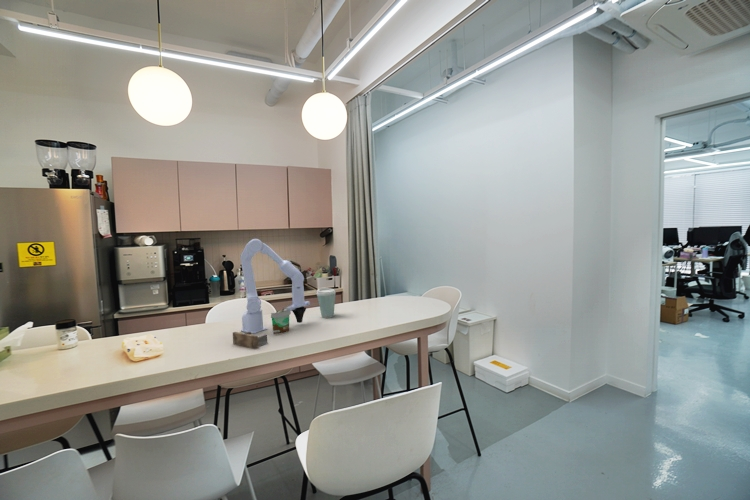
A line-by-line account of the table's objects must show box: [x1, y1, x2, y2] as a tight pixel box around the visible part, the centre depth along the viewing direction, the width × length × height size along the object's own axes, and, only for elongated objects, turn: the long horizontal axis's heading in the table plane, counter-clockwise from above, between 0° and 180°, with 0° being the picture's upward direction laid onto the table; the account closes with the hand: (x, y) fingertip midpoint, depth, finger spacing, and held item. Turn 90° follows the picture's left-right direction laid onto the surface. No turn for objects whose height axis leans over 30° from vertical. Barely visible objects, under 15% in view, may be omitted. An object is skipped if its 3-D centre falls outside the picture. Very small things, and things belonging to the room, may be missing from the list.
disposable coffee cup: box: [315, 287, 337, 319], centre depth 181 cm, size 11×11×15 cm
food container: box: [270, 307, 292, 335], centre depth 157 cm, size 12×6×10 cm, turn 168°
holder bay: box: [232, 331, 268, 350], centre depth 141 cm, size 14×7×5 cm, turn 60°
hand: (299, 322), depth 166 cm, fingers closed
